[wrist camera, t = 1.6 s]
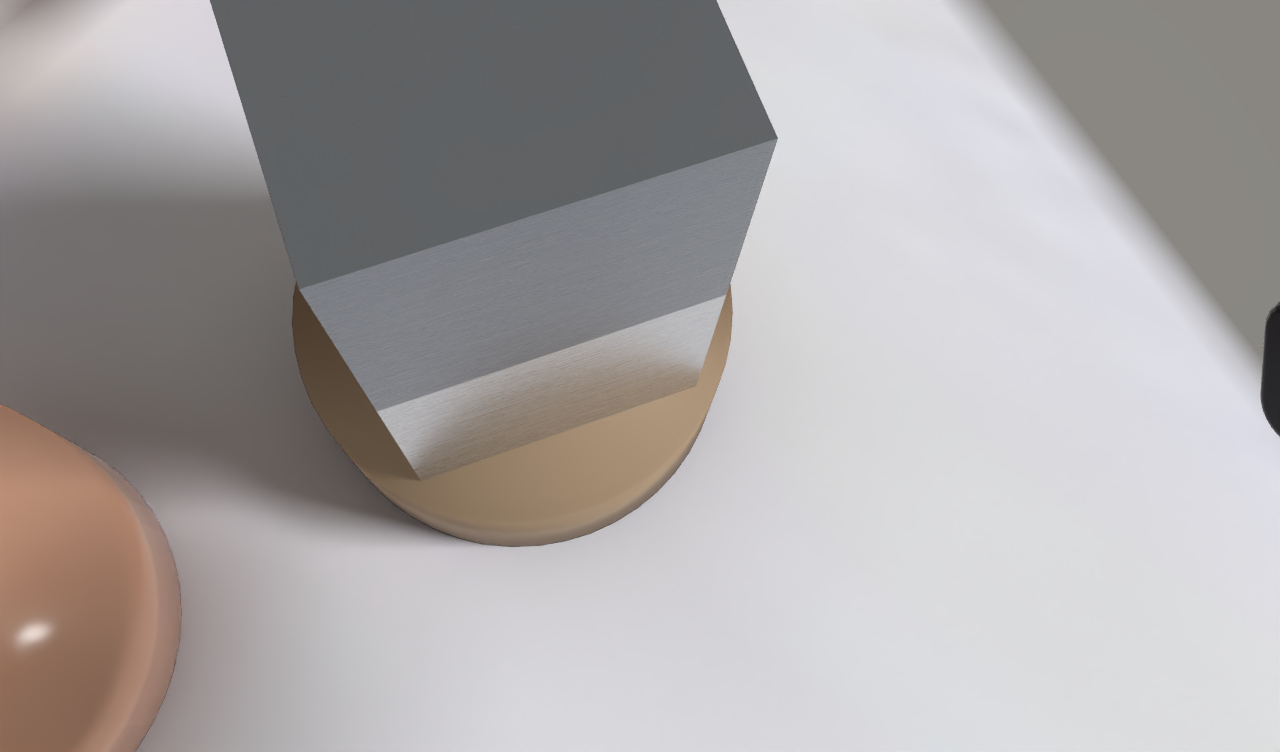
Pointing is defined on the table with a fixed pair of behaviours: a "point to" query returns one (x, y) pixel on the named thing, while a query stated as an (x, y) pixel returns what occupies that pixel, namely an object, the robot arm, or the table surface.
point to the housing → (504, 200)
